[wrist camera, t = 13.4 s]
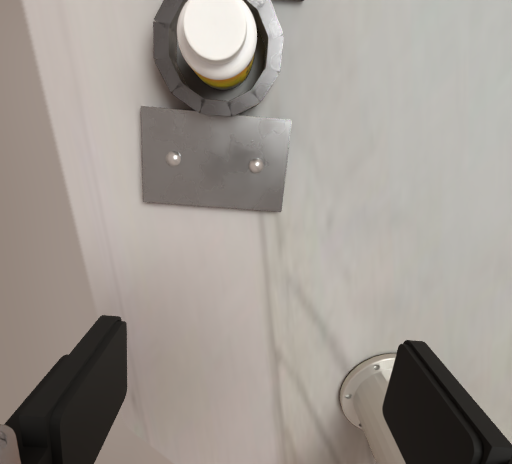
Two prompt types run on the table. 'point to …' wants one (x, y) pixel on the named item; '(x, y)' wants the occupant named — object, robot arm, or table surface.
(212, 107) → the ring mounting bracket
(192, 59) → the supplement bottle
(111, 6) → the table surface
